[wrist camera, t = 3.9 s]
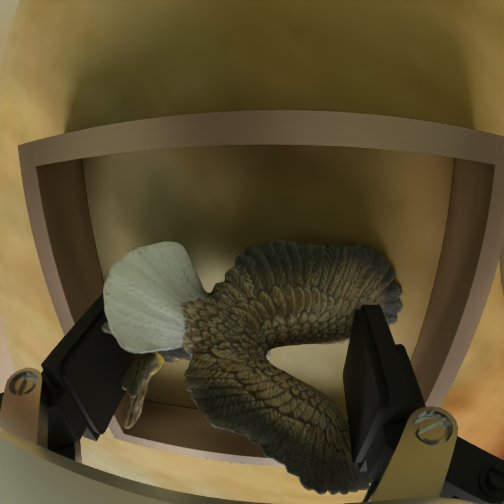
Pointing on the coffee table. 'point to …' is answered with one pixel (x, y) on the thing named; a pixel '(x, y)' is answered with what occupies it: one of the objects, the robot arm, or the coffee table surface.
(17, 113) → the coffee table surface
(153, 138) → the walnut frame
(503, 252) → the grey round plate
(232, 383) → the eagle figurine
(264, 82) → the coffee table surface
